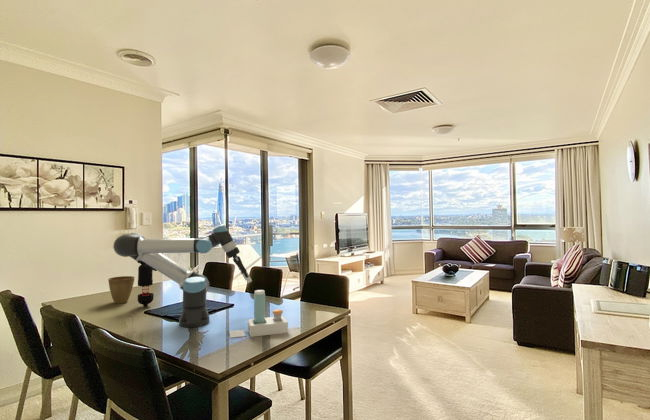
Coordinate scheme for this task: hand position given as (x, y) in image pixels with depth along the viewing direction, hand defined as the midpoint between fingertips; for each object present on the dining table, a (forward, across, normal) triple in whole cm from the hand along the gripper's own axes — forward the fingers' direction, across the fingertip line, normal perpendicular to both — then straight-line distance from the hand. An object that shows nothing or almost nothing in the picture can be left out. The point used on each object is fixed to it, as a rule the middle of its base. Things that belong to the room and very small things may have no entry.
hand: (248, 280), depth 197 cm
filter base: (+20, -35, +5) cm, 41 cm away
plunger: (+18, -35, -2) cm, 40 cm away
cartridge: (+18, -35, +9) cm, 40 cm away
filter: (-13, +35, +60) cm, 71 cm away
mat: (+13, -35, +18) cm, 41 cm away
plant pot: (-22, +52, +75) cm, 94 cm away
